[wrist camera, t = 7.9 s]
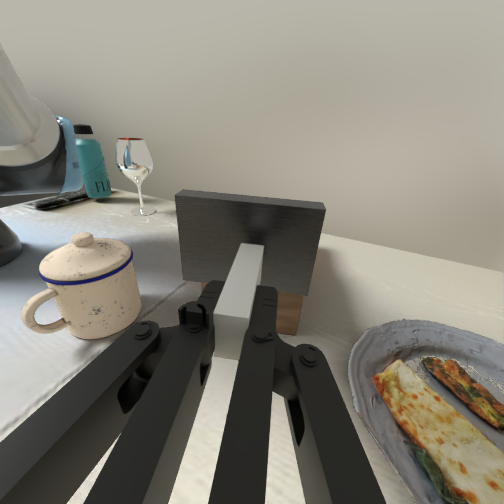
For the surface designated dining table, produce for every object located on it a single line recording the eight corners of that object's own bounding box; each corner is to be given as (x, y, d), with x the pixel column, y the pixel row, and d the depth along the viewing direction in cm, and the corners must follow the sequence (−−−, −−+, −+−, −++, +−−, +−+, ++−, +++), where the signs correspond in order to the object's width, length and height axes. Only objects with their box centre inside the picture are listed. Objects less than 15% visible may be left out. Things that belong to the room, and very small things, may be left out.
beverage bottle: (98, 204, 68) (77, 125, 58) (83, 200, 70) (60, 123, 60) (118, 199, 73) (102, 125, 63) (103, 195, 75) (85, 123, 65)
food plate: (838, 591, 15) (913, 577, 13) (705, 993, 8) (834, 1073, 6) (442, 318, 36) (452, 299, 34) (306, 358, 28) (311, 337, 27)
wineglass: (162, 207, 69) (153, 138, 60) (153, 217, 62) (142, 141, 53) (133, 206, 68) (120, 136, 60) (121, 216, 61) (104, 139, 52)
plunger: (302, 318, 20) (326, 209, 15) (185, 302, 21) (174, 194, 16) (298, 260, 28) (312, 178, 23) (215, 250, 29) (213, 170, 24)
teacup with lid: (113, 286, 37) (92, 214, 31) (158, 305, 34) (145, 229, 28) (20, 342, 27) (-34, 254, 22) (71, 376, 24) (24, 283, 18)
